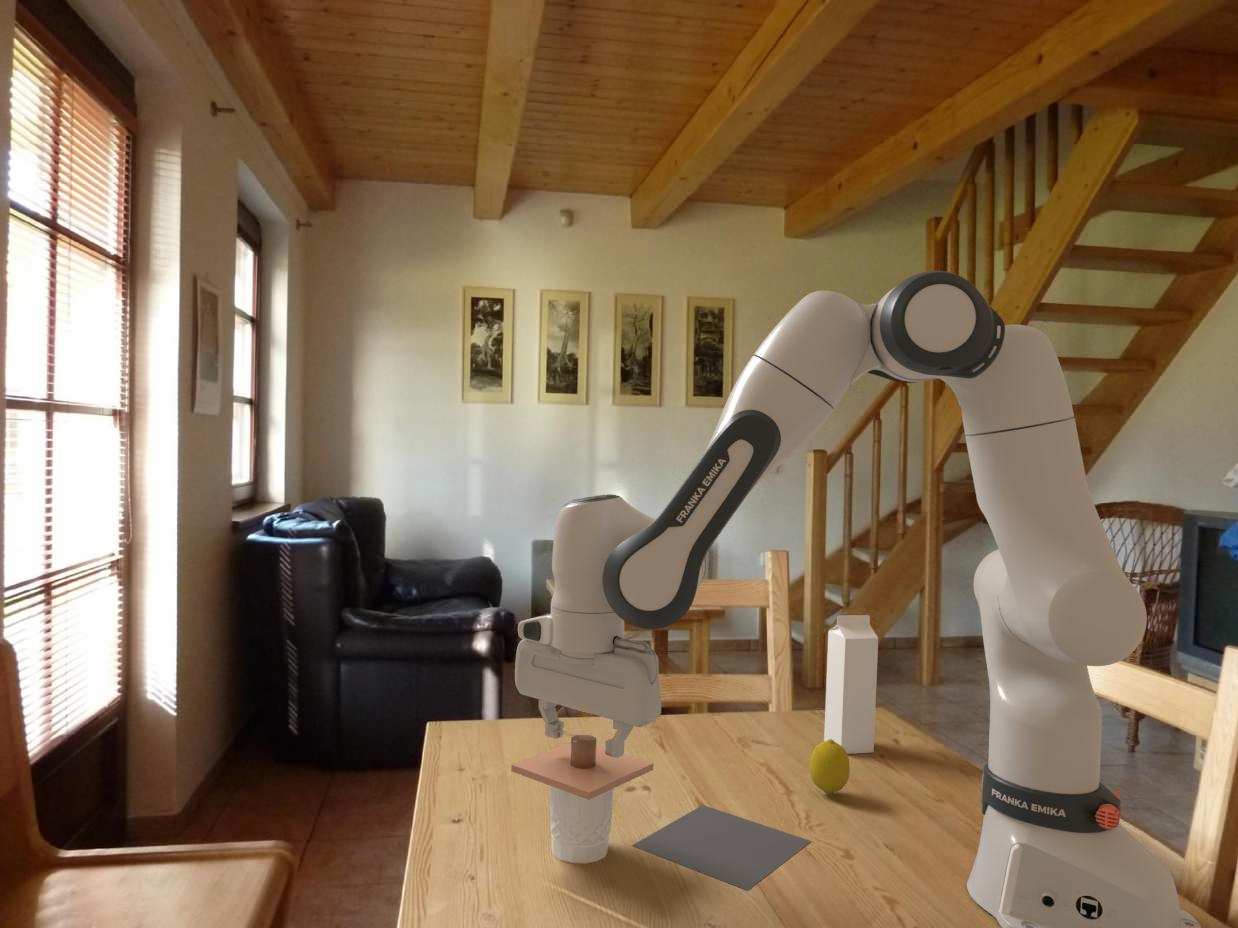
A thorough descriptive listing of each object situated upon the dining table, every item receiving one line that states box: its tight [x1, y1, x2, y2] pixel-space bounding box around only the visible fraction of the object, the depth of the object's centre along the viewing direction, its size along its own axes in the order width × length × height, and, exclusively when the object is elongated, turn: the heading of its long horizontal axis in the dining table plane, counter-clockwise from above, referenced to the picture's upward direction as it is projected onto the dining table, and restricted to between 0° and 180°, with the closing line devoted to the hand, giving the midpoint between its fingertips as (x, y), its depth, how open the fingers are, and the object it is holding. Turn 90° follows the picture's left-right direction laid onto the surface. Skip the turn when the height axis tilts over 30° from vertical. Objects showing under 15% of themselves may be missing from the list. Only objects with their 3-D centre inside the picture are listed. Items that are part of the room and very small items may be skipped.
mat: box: [631, 804, 812, 892], centre depth 107 cm, size 16×16×1 cm
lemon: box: [809, 739, 851, 796], centre depth 124 cm, size 6×6×8 cm
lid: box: [510, 734, 654, 800], centre depth 104 cm, size 12×12×4 cm
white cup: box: [549, 785, 615, 864], centre depth 104 cm, size 8×8×10 cm
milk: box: [823, 614, 879, 755], centre depth 144 cm, size 6×6×22 cm
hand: (583, 745), depth 104 cm, fingers open, 8 cm apart
